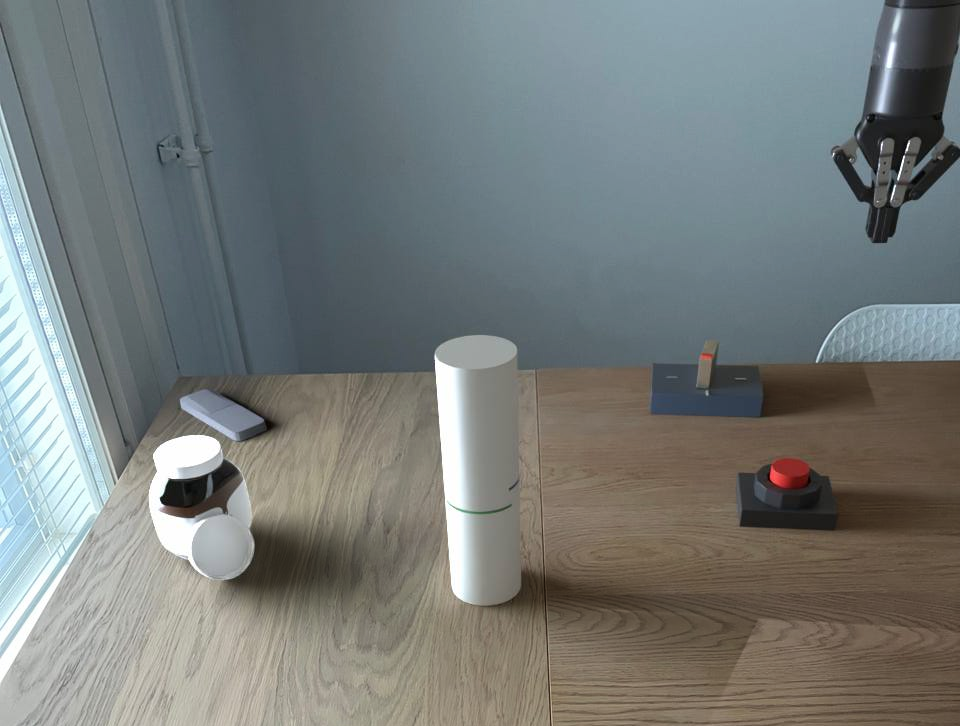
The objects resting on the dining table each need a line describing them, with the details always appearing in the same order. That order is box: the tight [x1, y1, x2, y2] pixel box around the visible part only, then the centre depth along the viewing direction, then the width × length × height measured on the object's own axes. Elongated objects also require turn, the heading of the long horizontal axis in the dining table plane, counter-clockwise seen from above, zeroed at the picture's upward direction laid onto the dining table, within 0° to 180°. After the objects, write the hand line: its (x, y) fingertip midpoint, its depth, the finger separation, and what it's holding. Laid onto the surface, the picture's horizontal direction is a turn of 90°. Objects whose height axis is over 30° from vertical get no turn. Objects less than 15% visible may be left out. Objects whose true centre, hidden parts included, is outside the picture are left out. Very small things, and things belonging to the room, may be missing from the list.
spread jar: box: [148, 434, 255, 581], centre depth 103 cm, size 12×11×12 cm
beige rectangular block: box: [697, 339, 720, 389], centre depth 127 cm, size 6×2×4 cm, turn 161°
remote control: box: [179, 388, 268, 442], centre depth 132 cm, size 5×2×15 cm
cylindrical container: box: [434, 334, 522, 607], centre depth 93 cm, size 7×7×25 cm
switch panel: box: [649, 362, 764, 418], centre depth 129 cm, size 14×10×3 cm
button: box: [770, 457, 811, 489], centre depth 106 cm, size 4×4×2 cm
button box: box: [735, 462, 839, 532], centre depth 108 cm, size 10×8×4 cm
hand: (877, 240), depth 106 cm, fingers closed
